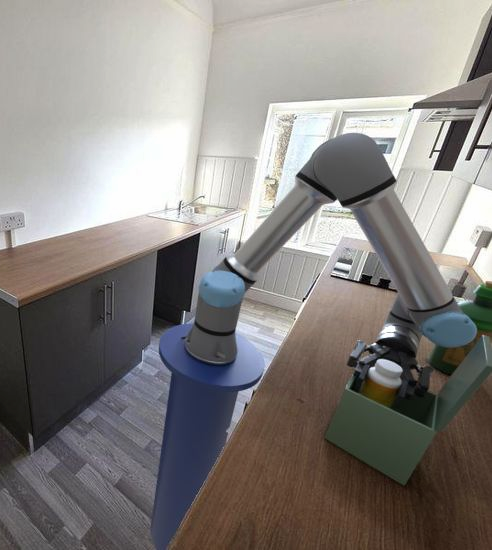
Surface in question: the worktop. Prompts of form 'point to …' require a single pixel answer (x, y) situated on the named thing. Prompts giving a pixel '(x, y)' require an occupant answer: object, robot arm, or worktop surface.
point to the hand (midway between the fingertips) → (378, 392)
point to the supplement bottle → (382, 382)
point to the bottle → (488, 319)
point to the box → (384, 431)
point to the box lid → (464, 382)
